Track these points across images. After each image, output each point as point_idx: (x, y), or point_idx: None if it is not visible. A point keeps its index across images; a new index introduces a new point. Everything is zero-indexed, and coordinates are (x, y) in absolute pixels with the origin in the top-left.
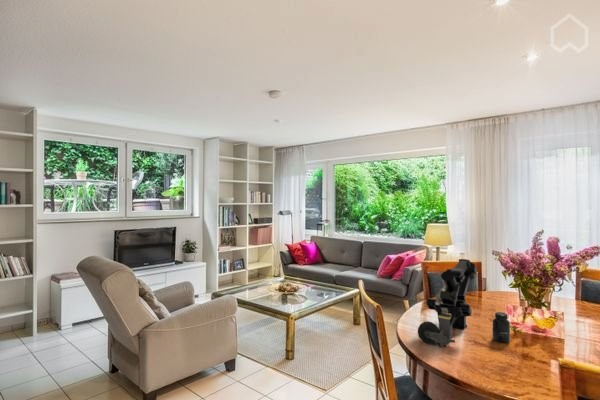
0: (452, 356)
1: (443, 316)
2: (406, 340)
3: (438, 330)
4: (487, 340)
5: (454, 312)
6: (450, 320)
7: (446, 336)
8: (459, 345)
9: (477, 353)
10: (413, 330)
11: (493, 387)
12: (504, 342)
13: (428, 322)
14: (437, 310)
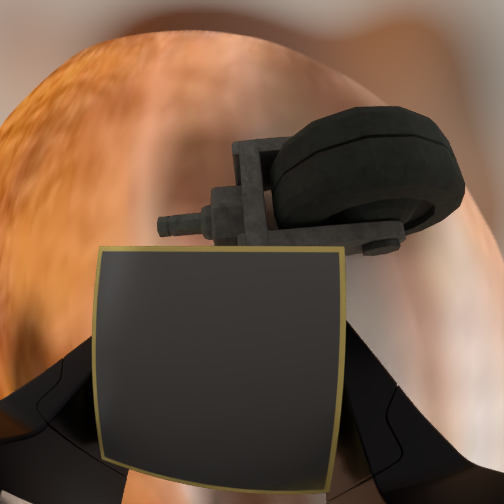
0: (175, 123)
1: (220, 249)
2: None
3: (280, 176)
4: None
5: (11, 414)
6: None
7: (211, 207)
8: None
9: (75, 234)
10: (482, 370)
11: (84, 58)
12: None
13: (400, 128)
14: (439, 454)
